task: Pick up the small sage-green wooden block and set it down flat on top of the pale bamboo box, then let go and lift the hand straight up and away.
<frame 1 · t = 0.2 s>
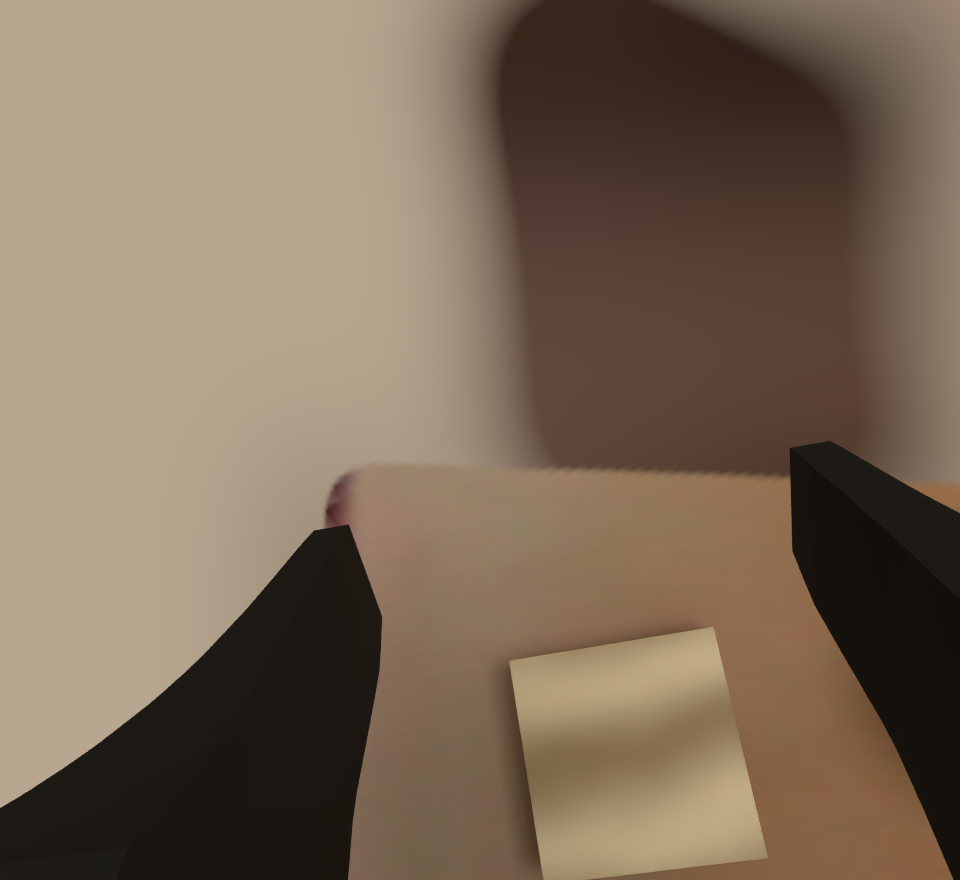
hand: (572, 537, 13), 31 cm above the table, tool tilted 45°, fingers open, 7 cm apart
bamboo box: (633, 745, 41), on the table
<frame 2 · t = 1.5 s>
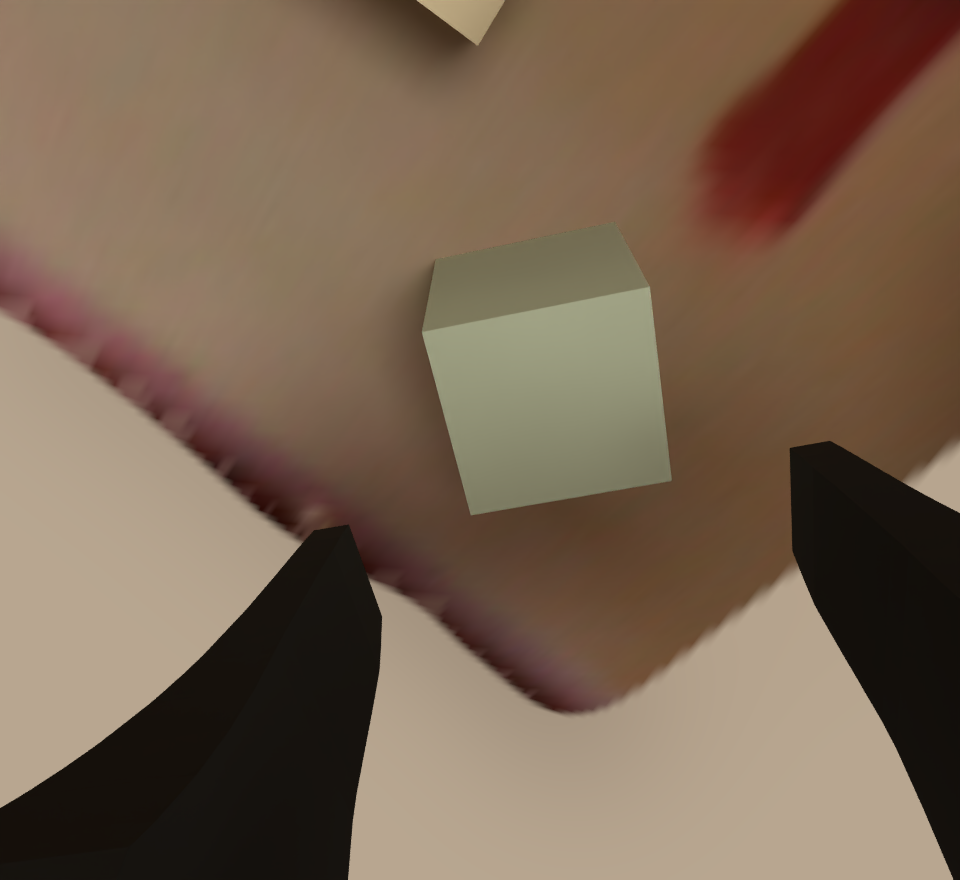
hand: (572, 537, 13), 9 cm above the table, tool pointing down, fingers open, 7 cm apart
sage block: (539, 323, 21), on the table
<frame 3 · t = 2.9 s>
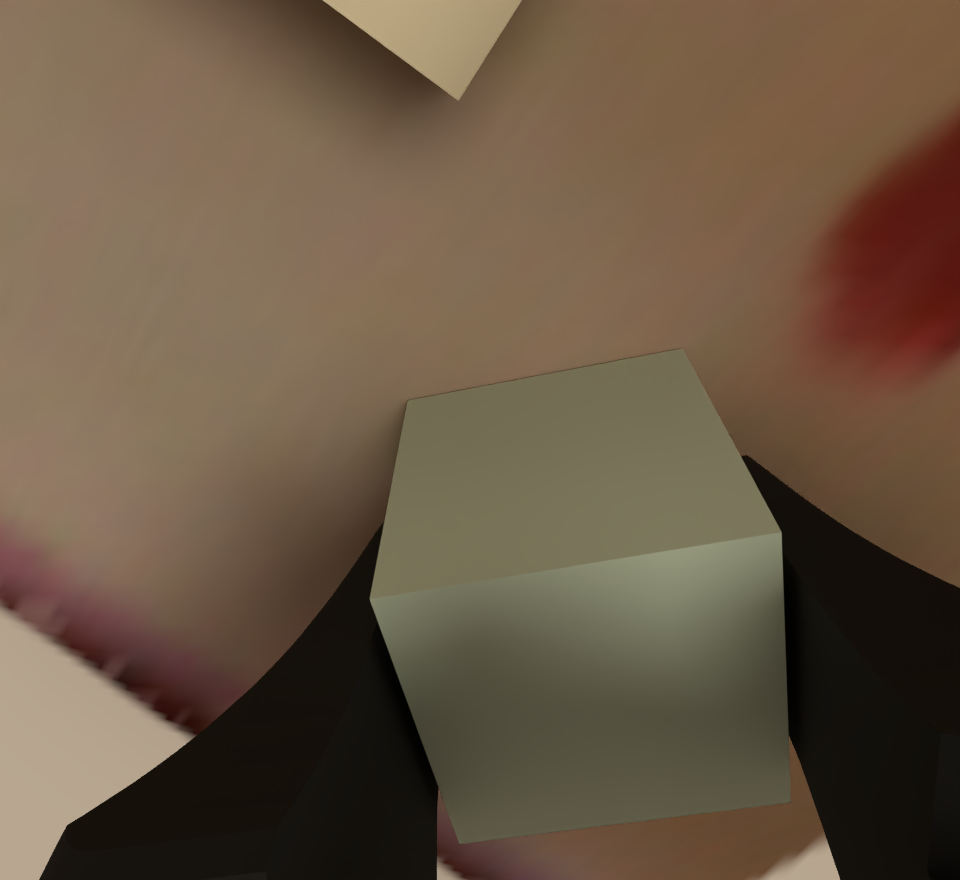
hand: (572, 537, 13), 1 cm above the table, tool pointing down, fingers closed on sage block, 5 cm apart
sage block: (564, 489, 14), on the table, touching gripper
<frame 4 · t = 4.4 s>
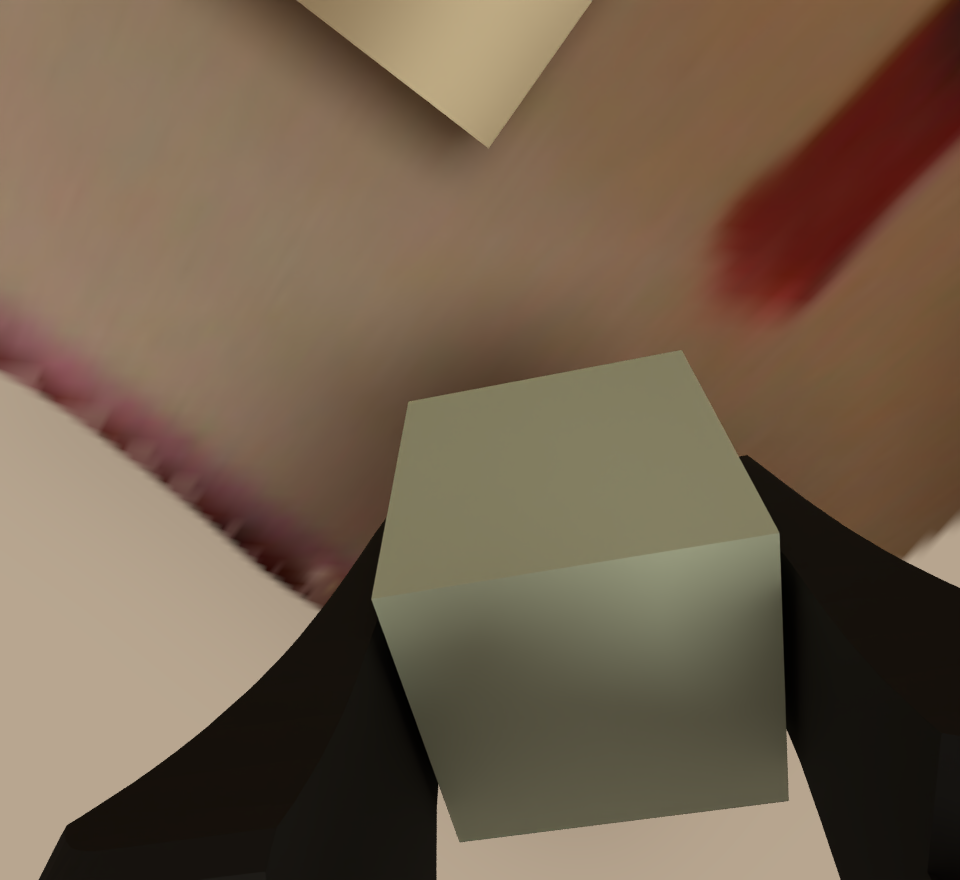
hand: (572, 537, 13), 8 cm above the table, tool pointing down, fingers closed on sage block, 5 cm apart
sage block: (564, 489, 14), point 7 cm above the table, touching gripper
when the fingers open (6 cm above the table, at t = 6.0 s): sage block drops 1 cm, point 4 cm above the table.
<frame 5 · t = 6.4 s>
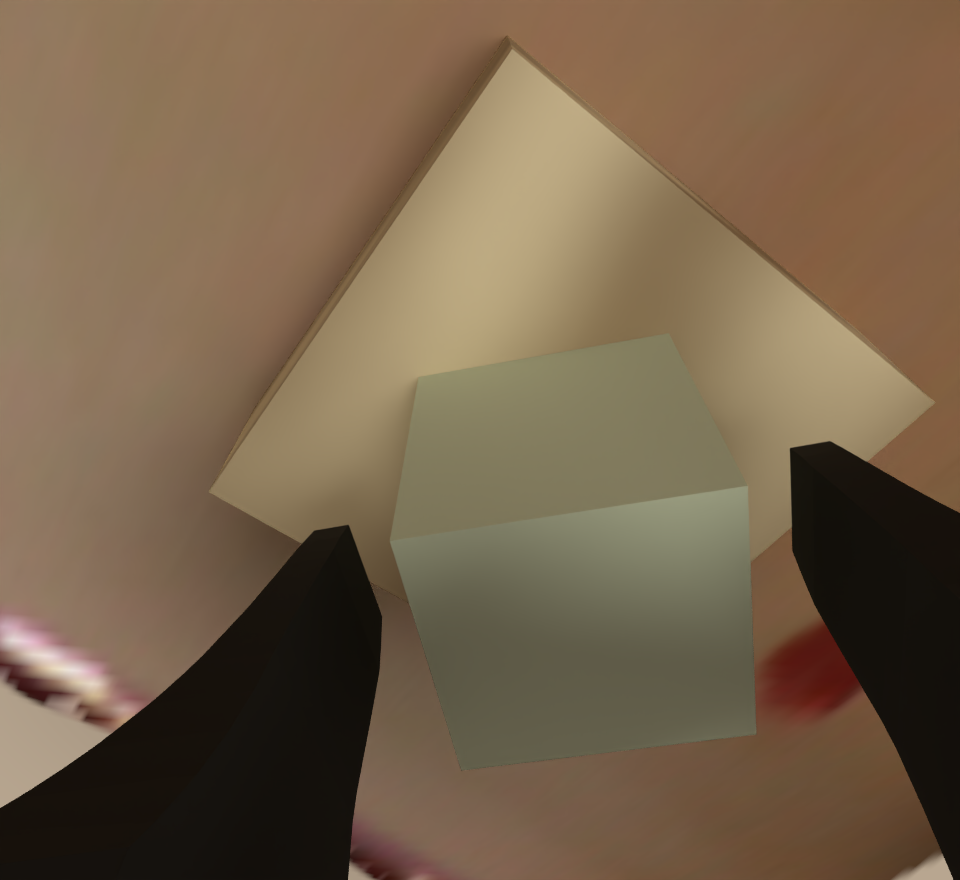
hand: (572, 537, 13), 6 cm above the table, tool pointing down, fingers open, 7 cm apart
bamboo box: (545, 363, 19), on the table
sage block: (559, 461, 16), point 4 cm above the table
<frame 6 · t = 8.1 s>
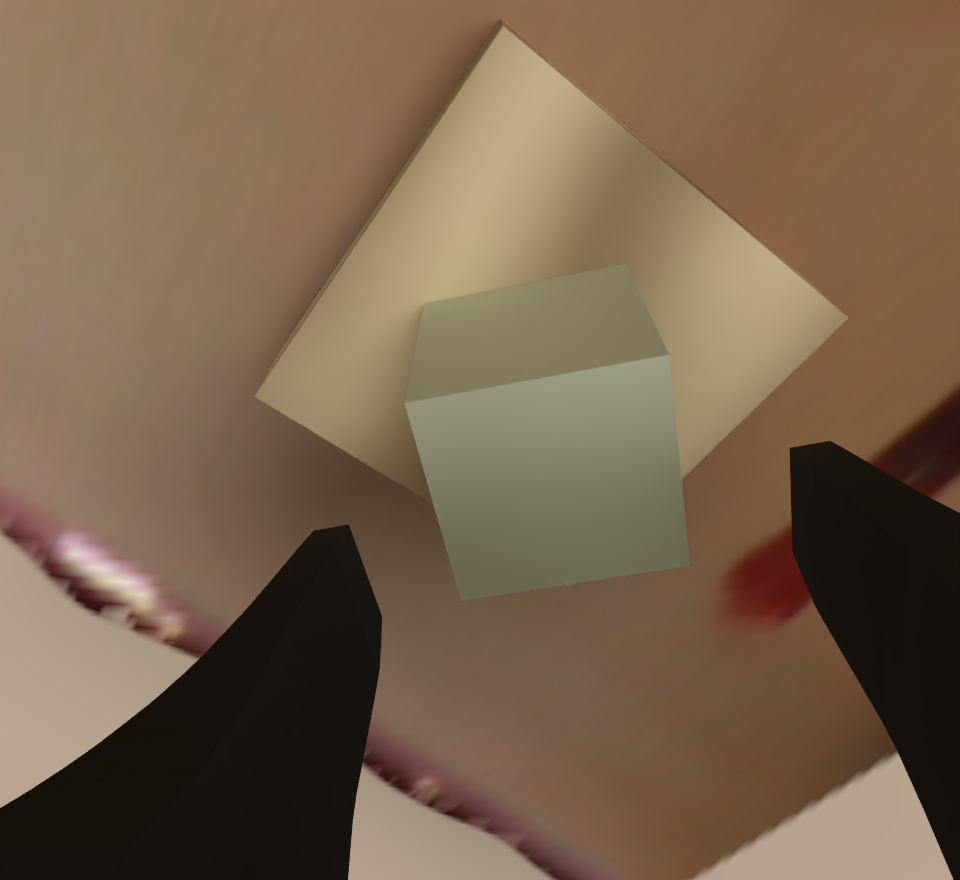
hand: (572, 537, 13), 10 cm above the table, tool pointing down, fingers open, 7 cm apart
bamboo box: (533, 300, 22), on the table, touching sage block
sage block: (540, 374, 19), point 4 cm above the table, touching bamboo box
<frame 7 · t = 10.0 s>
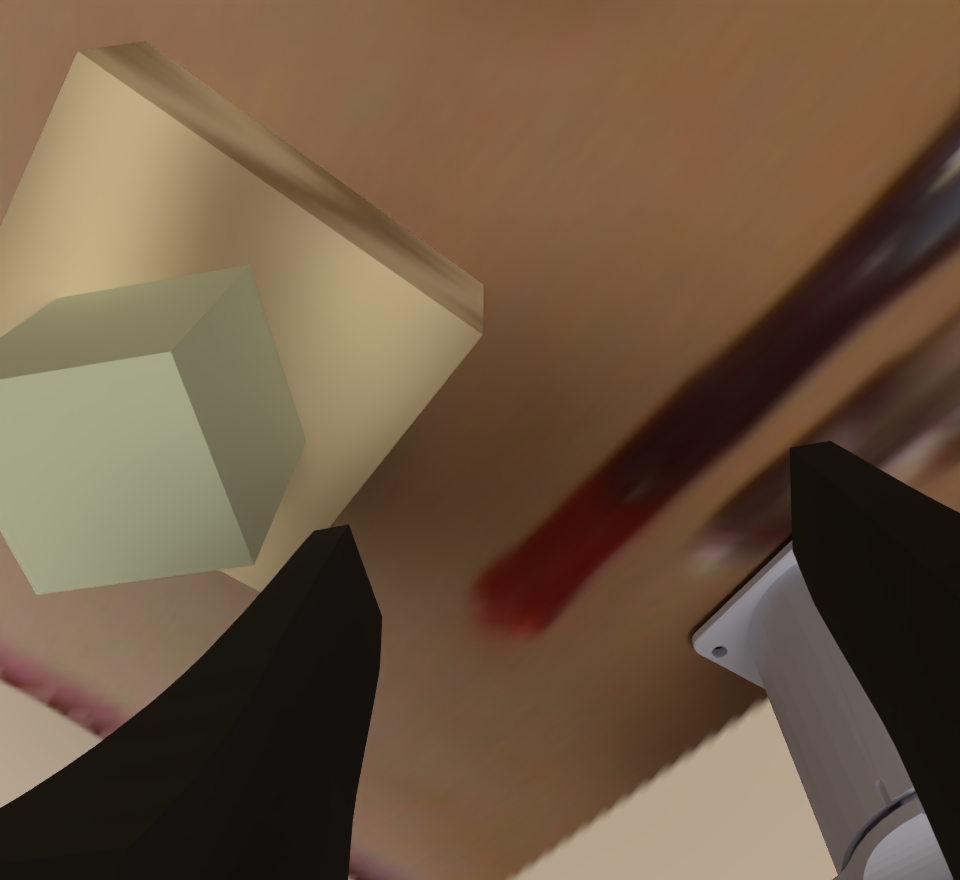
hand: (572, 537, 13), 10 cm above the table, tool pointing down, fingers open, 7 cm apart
bamboo box: (238, 314, 23), on the table, touching sage block
sage block: (187, 373, 19), point 4 cm above the table, touching bamboo box
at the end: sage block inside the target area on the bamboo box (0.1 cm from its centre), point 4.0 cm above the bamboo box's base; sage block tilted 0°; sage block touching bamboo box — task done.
